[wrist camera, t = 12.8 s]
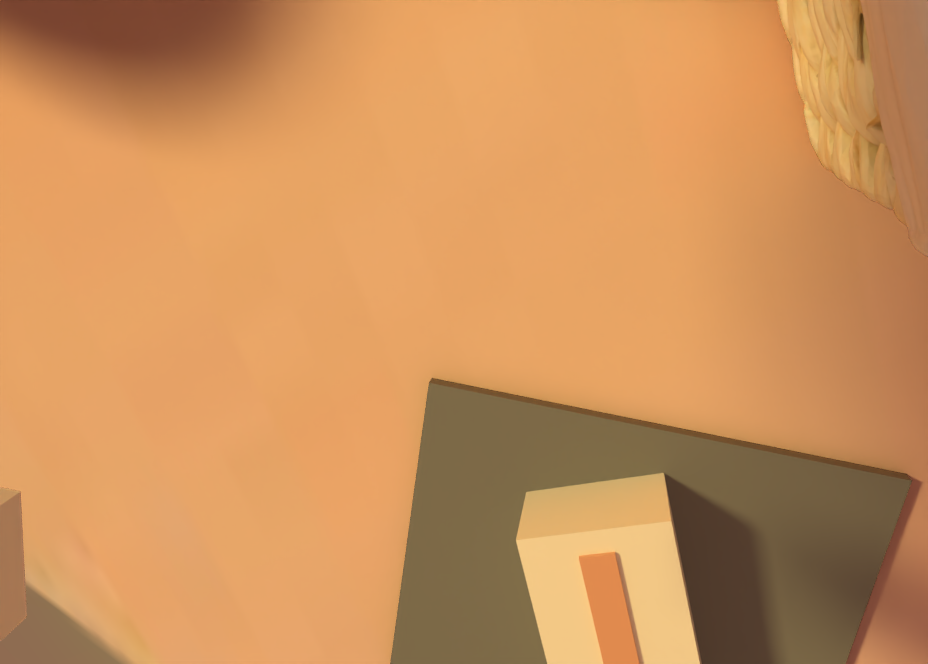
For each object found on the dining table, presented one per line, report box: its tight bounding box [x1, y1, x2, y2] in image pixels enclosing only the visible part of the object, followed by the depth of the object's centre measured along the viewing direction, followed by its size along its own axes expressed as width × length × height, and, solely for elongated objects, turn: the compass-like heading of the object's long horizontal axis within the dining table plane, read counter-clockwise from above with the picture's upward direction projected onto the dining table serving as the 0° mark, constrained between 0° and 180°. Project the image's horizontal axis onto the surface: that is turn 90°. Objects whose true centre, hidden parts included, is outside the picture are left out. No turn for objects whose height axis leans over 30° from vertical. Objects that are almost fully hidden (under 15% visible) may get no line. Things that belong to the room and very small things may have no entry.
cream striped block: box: [516, 473, 702, 664], centre depth 32 cm, size 12×6×4 cm, turn 14°
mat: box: [390, 378, 912, 664], centre depth 34 cm, size 20×17×1 cm
